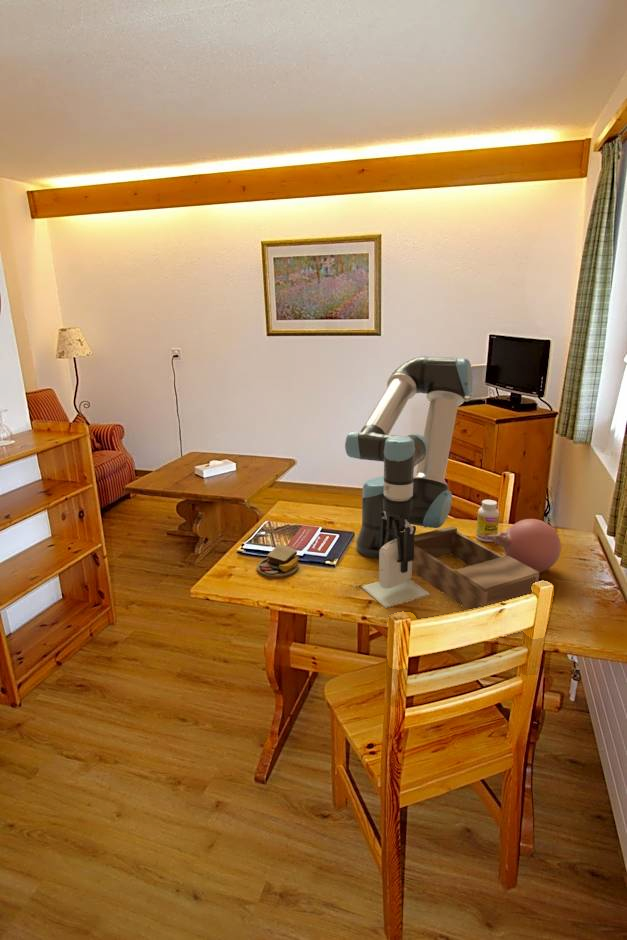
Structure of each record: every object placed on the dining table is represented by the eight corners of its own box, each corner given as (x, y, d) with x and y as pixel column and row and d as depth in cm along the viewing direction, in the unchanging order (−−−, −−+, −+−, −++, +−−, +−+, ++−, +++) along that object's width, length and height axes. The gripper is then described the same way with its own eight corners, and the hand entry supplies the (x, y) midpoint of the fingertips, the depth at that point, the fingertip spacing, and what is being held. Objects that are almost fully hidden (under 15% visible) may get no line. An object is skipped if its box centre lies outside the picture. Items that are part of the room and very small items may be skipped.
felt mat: (361, 587, 155) (361, 585, 155) (403, 576, 161) (403, 574, 161) (385, 608, 145) (385, 606, 145) (429, 595, 151) (429, 593, 151)
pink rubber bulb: (485, 553, 174) (488, 507, 170) (554, 560, 169) (560, 513, 164) (485, 577, 160) (489, 527, 155) (561, 585, 155) (567, 534, 150)
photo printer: (387, 591, 147) (388, 548, 144) (376, 585, 151) (376, 542, 147) (414, 578, 154) (415, 537, 150) (402, 573, 157) (403, 532, 153)
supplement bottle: (482, 543, 181) (485, 506, 177) (472, 535, 187) (474, 499, 184) (500, 541, 183) (504, 504, 179) (490, 533, 189) (493, 497, 185)
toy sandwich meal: (248, 570, 167) (247, 556, 166) (279, 554, 177) (278, 541, 175) (278, 583, 159) (278, 568, 158) (309, 566, 169) (309, 551, 168)
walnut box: (403, 565, 168) (404, 537, 165) (451, 552, 175) (452, 526, 173) (482, 620, 139) (485, 588, 136) (535, 603, 146) (539, 572, 144)
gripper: (367, 488, 151) (366, 566, 158) (406, 510, 136) (403, 595, 142) (390, 484, 154) (388, 561, 161) (431, 504, 139) (427, 588, 146)
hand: (395, 577), depth 152 cm, fingers closed on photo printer, 5 cm apart
